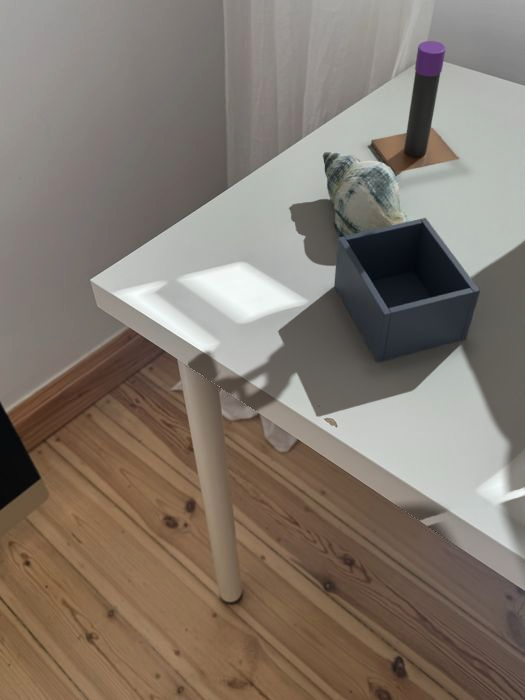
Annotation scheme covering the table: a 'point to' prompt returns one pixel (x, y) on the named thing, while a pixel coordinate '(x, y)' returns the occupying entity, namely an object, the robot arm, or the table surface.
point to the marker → (423, 97)
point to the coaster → (399, 161)
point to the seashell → (362, 194)
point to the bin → (404, 289)
